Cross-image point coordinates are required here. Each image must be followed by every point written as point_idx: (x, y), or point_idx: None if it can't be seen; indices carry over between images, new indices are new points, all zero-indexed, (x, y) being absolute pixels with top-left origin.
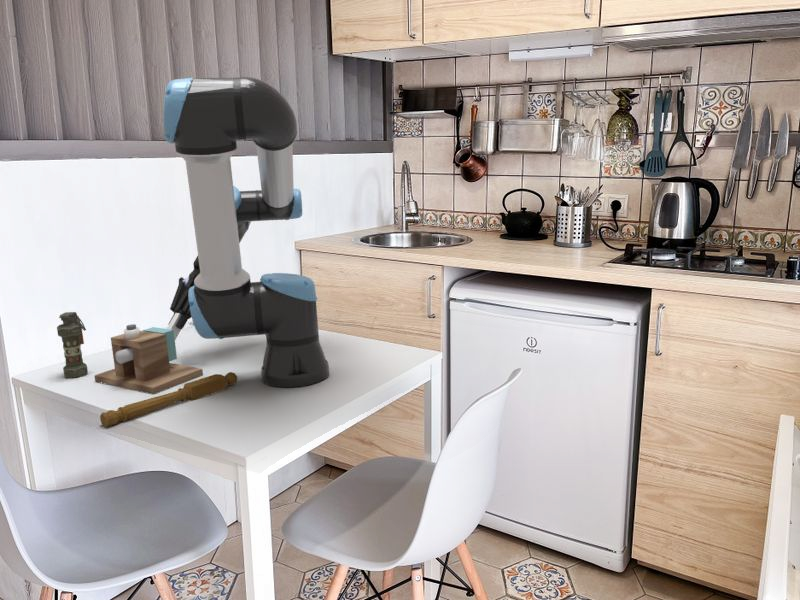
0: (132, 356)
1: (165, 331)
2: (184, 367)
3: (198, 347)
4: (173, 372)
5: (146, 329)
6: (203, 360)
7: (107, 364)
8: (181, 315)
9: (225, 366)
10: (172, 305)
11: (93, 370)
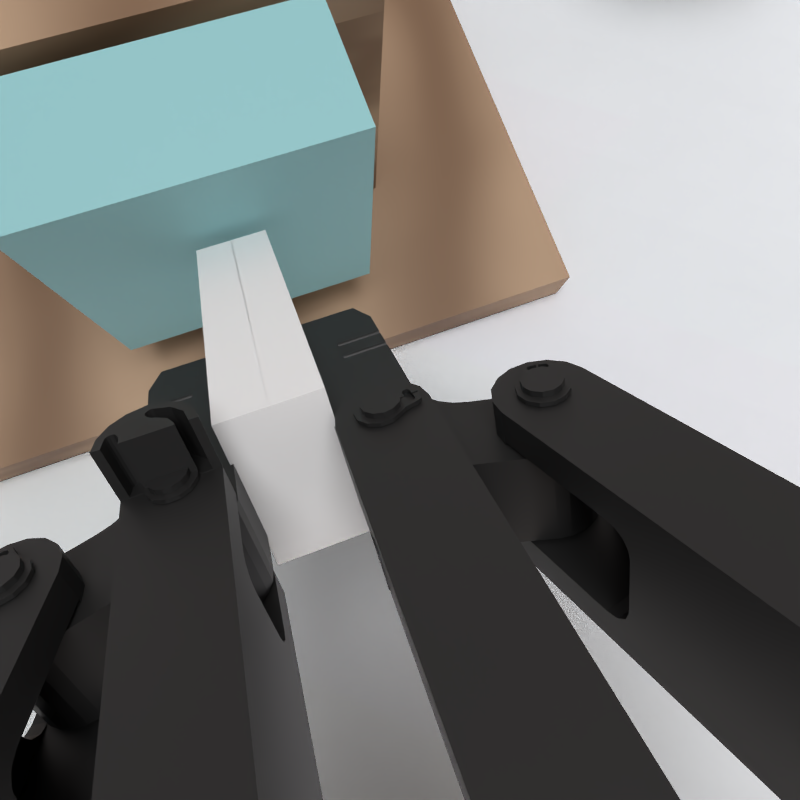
0: None
1: (2, 139)
2: (101, 398)
3: (730, 773)
4: (50, 293)
5: (315, 28)
6: (330, 646)
7: (735, 123)
8: (220, 457)
9: (32, 713)
10: (590, 410)
11: (660, 29)
